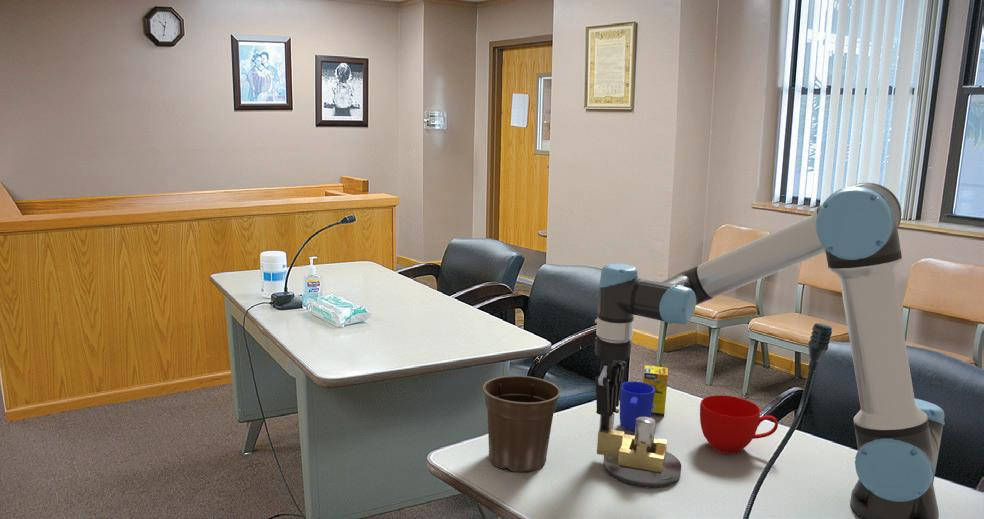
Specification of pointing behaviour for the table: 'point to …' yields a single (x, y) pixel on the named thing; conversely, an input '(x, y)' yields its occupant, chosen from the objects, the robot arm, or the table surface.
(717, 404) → the ceramic cup
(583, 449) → the table surface
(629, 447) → the yellow stepped block
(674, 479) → the round base with post
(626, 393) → the mug
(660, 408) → the supplement box
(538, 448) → the plant pot
